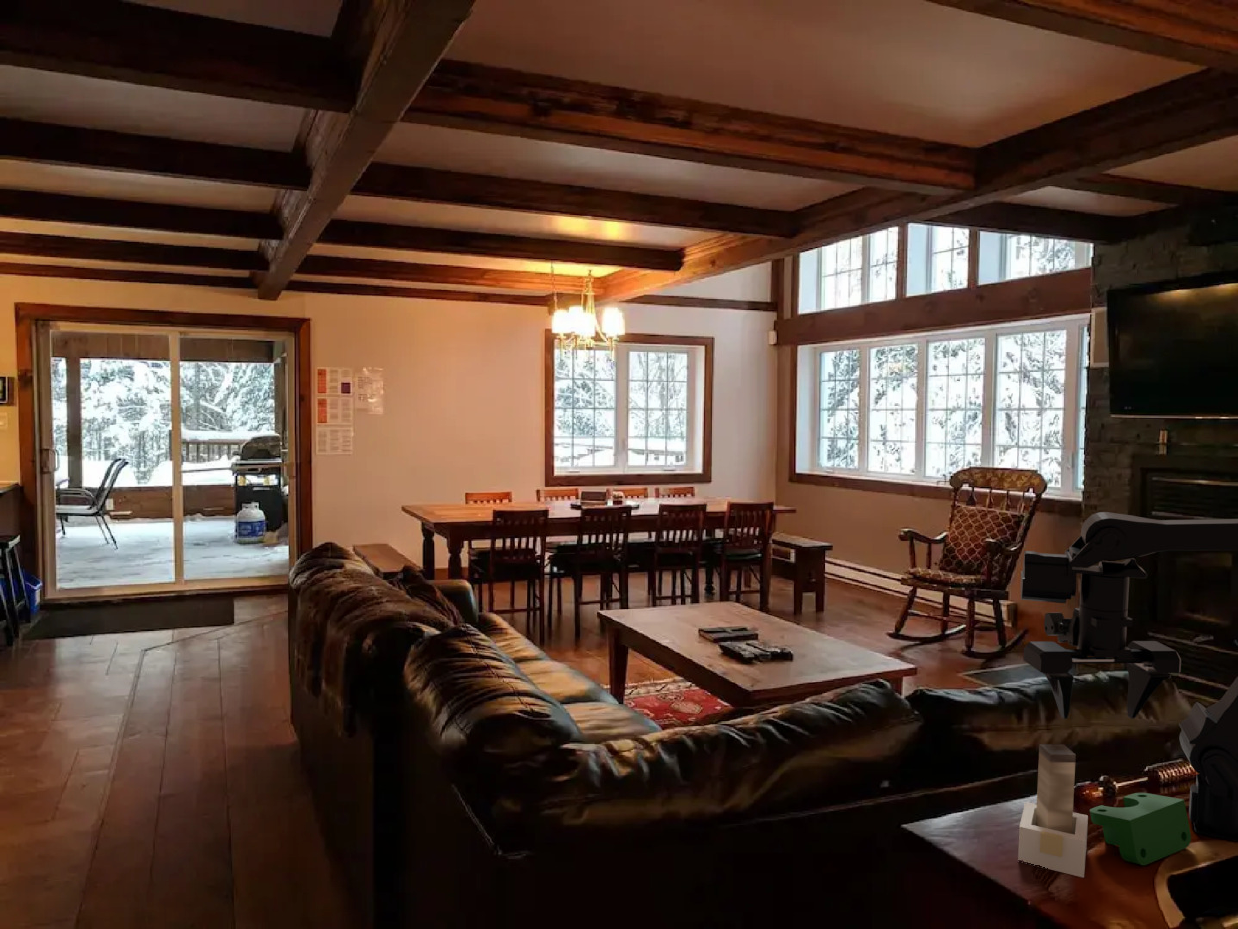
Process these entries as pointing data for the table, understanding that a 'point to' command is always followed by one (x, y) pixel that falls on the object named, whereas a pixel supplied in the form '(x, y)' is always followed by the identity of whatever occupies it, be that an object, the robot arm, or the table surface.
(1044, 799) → the tall wooden post
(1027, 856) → the white labeled box
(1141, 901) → the table surface
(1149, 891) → the table surface
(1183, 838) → the clamp
